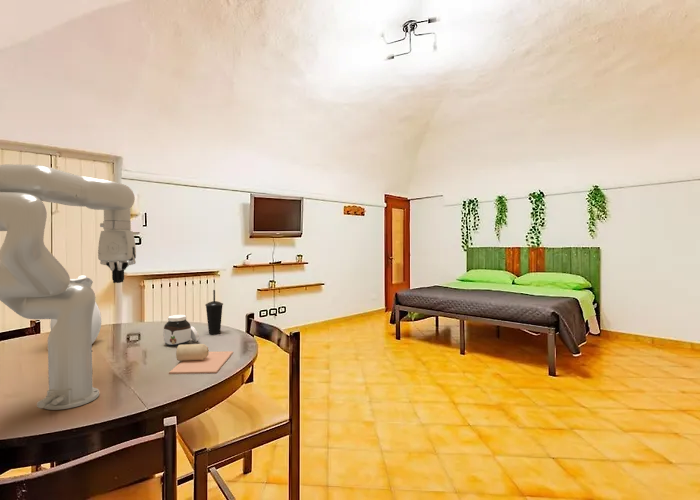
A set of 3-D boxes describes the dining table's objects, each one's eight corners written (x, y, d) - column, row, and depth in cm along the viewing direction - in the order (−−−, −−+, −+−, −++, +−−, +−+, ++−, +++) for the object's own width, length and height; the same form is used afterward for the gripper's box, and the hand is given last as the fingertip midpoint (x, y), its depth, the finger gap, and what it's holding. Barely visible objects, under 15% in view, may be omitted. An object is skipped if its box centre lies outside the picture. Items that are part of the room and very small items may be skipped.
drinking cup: (204, 332, 177) (204, 289, 176) (222, 330, 180) (221, 288, 180) (206, 336, 170) (205, 291, 169) (224, 334, 173) (223, 290, 173)
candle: (174, 358, 131) (205, 357, 132) (177, 342, 134) (207, 341, 135) (179, 362, 136) (208, 361, 137) (182, 347, 139) (210, 346, 140)
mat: (216, 373, 124) (216, 371, 124) (169, 374, 123) (168, 372, 123) (233, 352, 146) (233, 351, 146) (192, 353, 145) (192, 351, 145)
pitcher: (96, 348, 151) (95, 278, 150) (43, 353, 145) (42, 279, 144) (109, 334, 173) (108, 272, 173) (64, 337, 167) (63, 273, 166)
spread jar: (160, 345, 155) (160, 317, 155) (181, 338, 166) (180, 312, 166) (184, 348, 151) (184, 319, 151) (203, 341, 162) (203, 314, 162)
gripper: (86, 226, 122) (87, 283, 122) (135, 226, 122) (136, 283, 123) (100, 226, 129) (101, 281, 130) (146, 227, 130) (147, 281, 131)
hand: (118, 282), depth 126 cm, fingers closed
